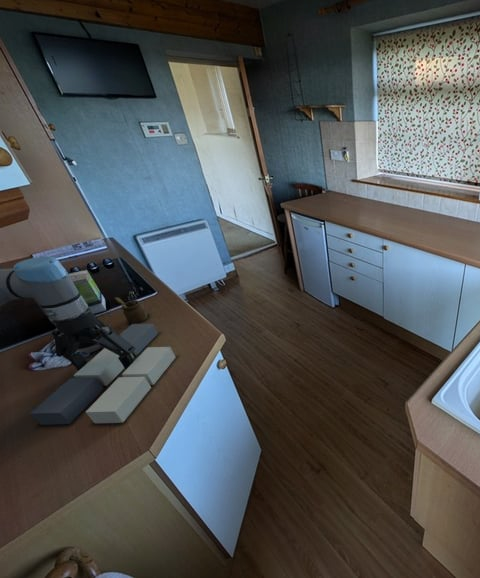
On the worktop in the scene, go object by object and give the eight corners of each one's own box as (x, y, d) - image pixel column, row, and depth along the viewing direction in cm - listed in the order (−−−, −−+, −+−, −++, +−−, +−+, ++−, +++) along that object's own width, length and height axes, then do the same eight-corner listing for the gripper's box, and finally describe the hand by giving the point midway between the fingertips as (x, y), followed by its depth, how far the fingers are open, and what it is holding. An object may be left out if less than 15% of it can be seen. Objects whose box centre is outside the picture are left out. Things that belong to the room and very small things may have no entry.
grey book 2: (113, 356, 93) (107, 345, 91) (137, 334, 103) (132, 323, 100) (136, 355, 94) (130, 345, 91) (157, 333, 103) (152, 323, 101)
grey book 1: (40, 424, 73) (29, 413, 71) (78, 389, 82) (70, 378, 80) (69, 424, 73) (59, 412, 71) (104, 388, 82) (96, 377, 80)
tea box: (106, 300, 121) (87, 268, 113) (106, 311, 114) (86, 278, 107) (55, 314, 112) (31, 280, 105) (53, 326, 106) (27, 292, 98)
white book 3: (128, 385, 84) (121, 374, 81) (153, 357, 93) (147, 347, 91) (153, 384, 84) (147, 373, 81) (175, 357, 93) (170, 346, 91)
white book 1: (81, 386, 83) (73, 375, 81) (111, 358, 93) (104, 347, 90) (107, 385, 83) (99, 374, 81) (134, 358, 93) (127, 347, 90)
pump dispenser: (65, 354, 94) (37, 316, 86) (101, 334, 102) (77, 298, 95) (88, 361, 91) (60, 322, 84) (122, 340, 100) (100, 303, 92)
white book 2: (94, 423, 73) (85, 412, 71) (126, 388, 83) (118, 377, 80) (123, 422, 73) (114, 411, 71) (151, 387, 83) (144, 376, 81)
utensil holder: (152, 315, 112) (138, 288, 106) (138, 325, 107) (123, 297, 101) (137, 314, 113) (123, 287, 107) (123, 324, 107) (108, 296, 101)
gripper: (6, 323, 73) (55, 381, 84) (108, 321, 74) (143, 379, 85) (35, 306, 80) (78, 362, 91) (129, 305, 80) (159, 360, 91)
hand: (109, 371), depth 88 cm, fingers open, 13 cm apart
